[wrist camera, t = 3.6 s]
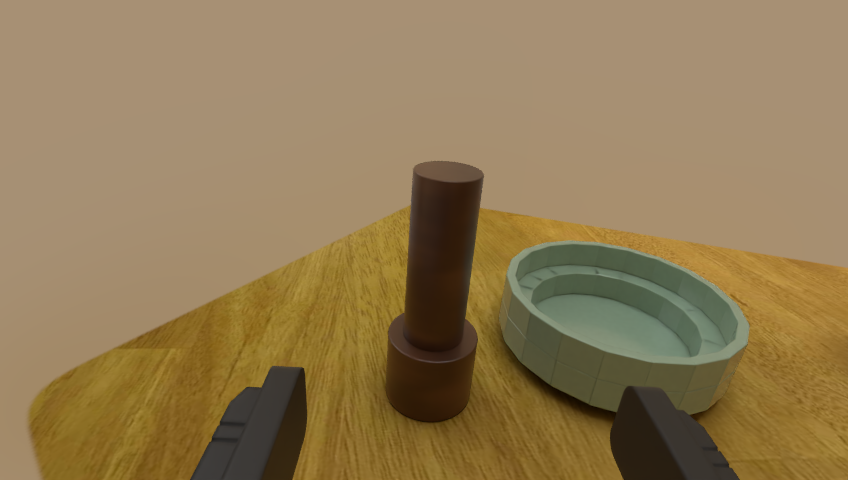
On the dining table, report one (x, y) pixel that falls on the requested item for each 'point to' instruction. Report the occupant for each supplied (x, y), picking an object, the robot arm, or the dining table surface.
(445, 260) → the pestle
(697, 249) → the dining table surface
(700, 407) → the bowl
